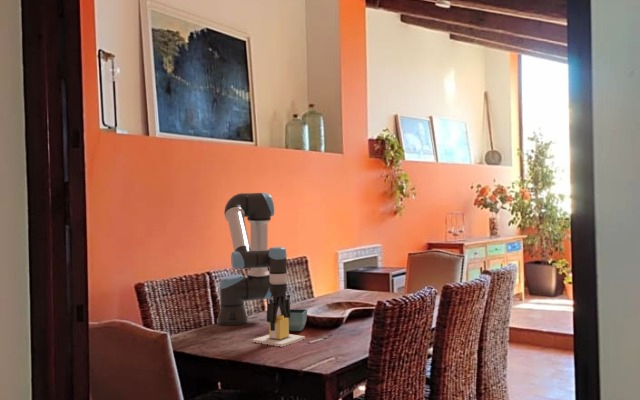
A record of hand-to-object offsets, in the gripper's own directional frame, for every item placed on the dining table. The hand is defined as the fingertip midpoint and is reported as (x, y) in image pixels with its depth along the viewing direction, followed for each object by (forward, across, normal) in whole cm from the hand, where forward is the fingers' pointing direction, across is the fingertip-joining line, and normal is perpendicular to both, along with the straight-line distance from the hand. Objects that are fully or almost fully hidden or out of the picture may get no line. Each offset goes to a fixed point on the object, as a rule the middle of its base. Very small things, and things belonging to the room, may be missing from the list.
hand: (279, 336), depth 253 cm
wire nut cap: (0, 0, 0) cm, 0 cm away
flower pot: (+2, -20, -6) cm, 21 cm away
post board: (+2, 0, 0) cm, 2 cm away
